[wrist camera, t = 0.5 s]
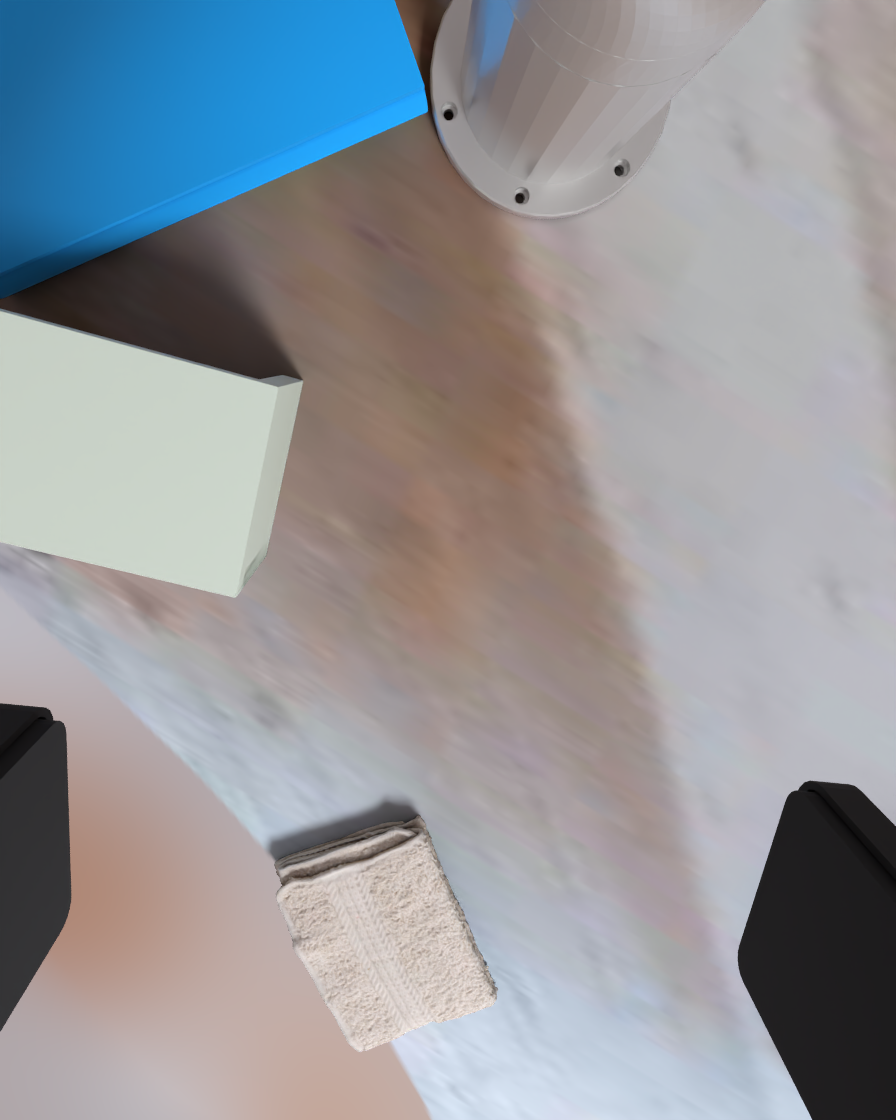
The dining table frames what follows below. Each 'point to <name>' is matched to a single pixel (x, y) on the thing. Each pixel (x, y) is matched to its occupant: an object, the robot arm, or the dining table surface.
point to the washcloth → (382, 933)
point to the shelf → (138, 456)
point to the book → (176, 111)
